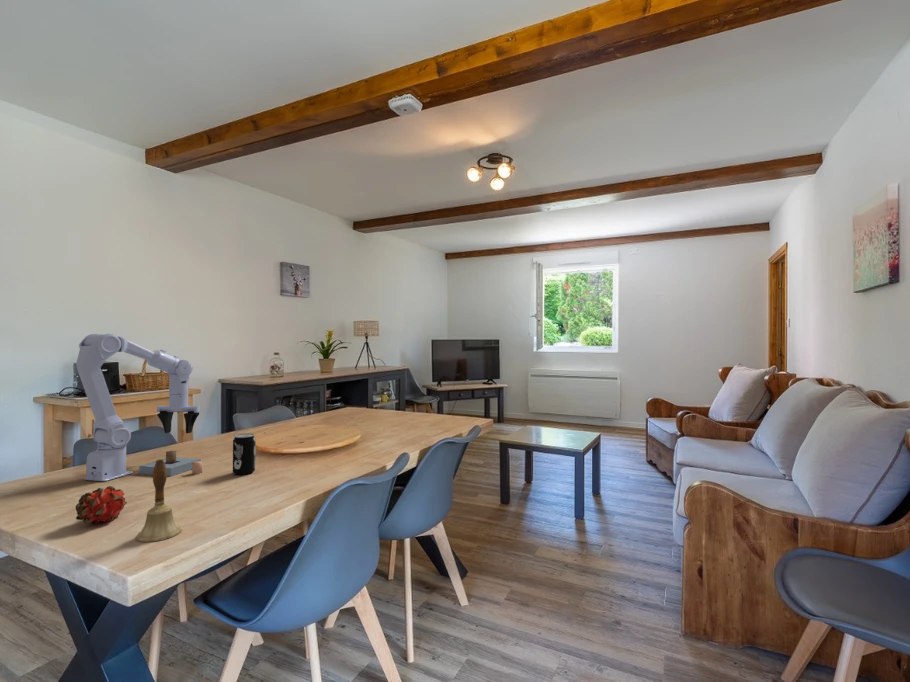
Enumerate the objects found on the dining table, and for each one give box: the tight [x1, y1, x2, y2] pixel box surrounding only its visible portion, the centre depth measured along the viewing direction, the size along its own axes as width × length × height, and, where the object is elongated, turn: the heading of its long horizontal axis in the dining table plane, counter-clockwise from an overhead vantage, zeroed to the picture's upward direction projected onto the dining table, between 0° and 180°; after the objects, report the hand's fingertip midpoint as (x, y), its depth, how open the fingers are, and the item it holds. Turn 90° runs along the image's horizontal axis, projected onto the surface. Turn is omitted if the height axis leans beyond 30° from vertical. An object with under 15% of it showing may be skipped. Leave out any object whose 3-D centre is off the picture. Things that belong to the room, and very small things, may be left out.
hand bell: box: [135, 458, 183, 543], centre depth 98 cm, size 8×8×16 cm
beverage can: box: [232, 433, 257, 476], centre depth 145 cm, size 7×7×12 cm
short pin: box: [191, 460, 203, 475], centre depth 144 cm, size 3×3×4 cm
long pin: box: [165, 450, 177, 464], centre depth 147 cm, size 3×3×6 cm
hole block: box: [138, 456, 202, 477], centre depth 147 cm, size 12×12×2 cm
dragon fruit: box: [75, 485, 128, 526], centre depth 105 cm, size 8×8×12 cm
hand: (178, 432), depth 159 cm, fingers open, 7 cm apart
